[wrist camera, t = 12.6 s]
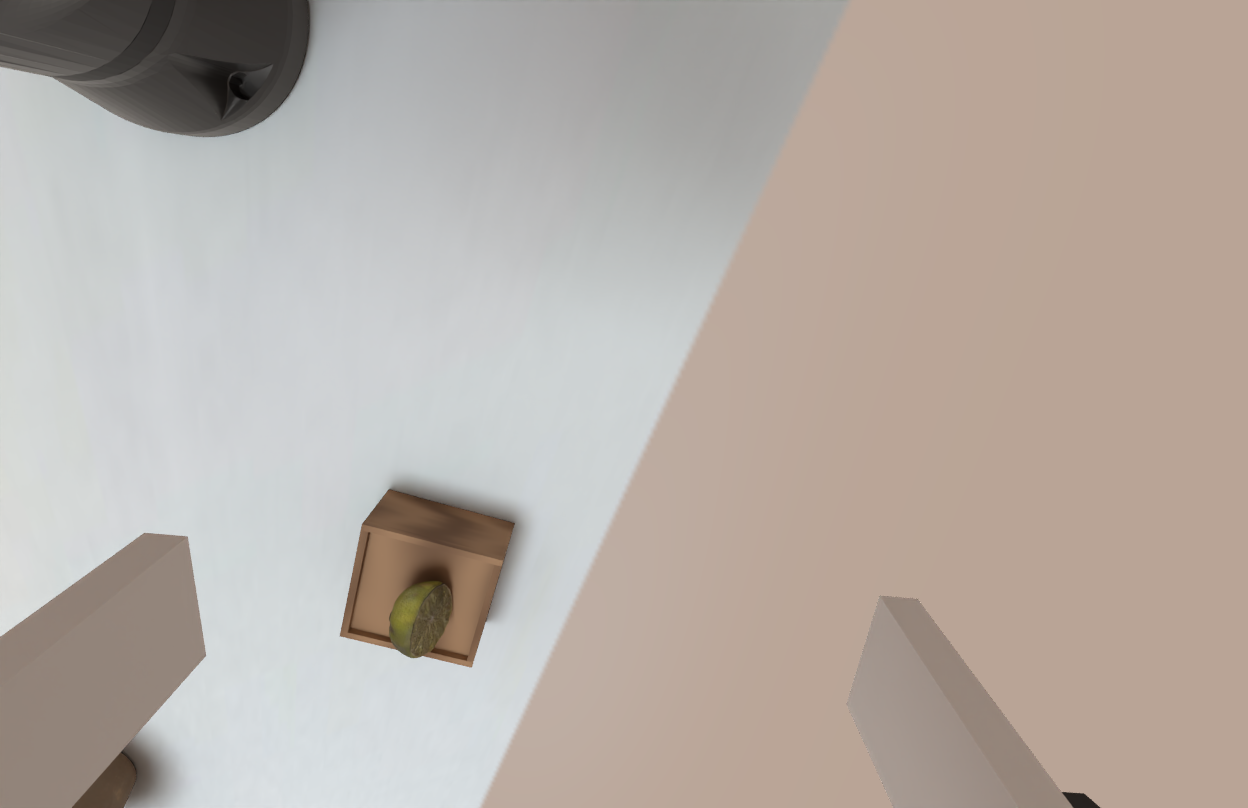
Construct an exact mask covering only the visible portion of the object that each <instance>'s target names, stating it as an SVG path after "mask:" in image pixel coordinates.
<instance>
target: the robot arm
mask: <svg viewBox="0 0 1248 808" xmlns="http://www.w3.org/2000/svg"><path fill="white" fill-rule="evenodd" d="M307 37H308V7H307V0H0V67H4V68H9V69H14V70H19V71H24V72H29V73H34V74H39V75H45V76H50V77H53V78H54V79H56V80H58V81H59V82H61V83H63V84H64V85H66V86H68V87H69V88H71V89H73V90H74V91H76V92H78V93H79V94H81V95H83V96H84V97H86V98H88V99H89V100H91V101H93V102H94V103H96V104H98V105H99V106H101V107H103V108H104V109H106V110H108V111H109V112H111V113H113V114H115V115H117V116H119V117H121V118H123V119H125V120H128V121H130V122H133V123H135V124H138V125H141V126H143V127H146V128H150V129H153V130H157V131H162V132H167V133H174V134H181V135H188V136H196V137H216V136H224V135H230V134H234V133H237V132H240V131H243V130H246V129H248V128H250V127H252V126H254V125H256V124H257V123H259V122H261V121H262V120H264V119H265V118H266V117H268V116H269V115H270V114H271V113H272V112H273V111H275V110H276V109H277V107H278V106H279V105H280V104H281V103H282V102H283V101H284V99H285V98H286V97H287V95H288V94H289V92H290V91H291V89H292V87H293V85H294V83H295V81H296V79H297V77H298V75H299V72H300V69H301V66H302V63H303V60H304V56H305V51H306V45H307ZM205 656H206V652H205V645H204V639H203V632H202V626H201V620H200V613H199V607H198V600H197V594H196V588H195V581H194V575H193V568H192V562H191V555H190V549H189V543H188V537H187V536H175V535H163V534H152V533H144V534H142V535H141V536H140V537H138V538H137V539H135V540H134V541H133V542H131V543H130V544H129V545H127V546H126V547H124V548H123V549H122V550H120V551H119V552H117V553H116V554H115V555H113V556H112V557H111V558H109V559H108V560H106V561H105V562H104V563H102V564H101V565H99V566H98V567H97V568H95V569H94V570H92V571H91V572H90V573H88V574H87V575H86V576H84V577H83V578H81V579H80V580H79V581H77V582H76V583H74V584H73V585H72V586H70V587H69V588H68V589H66V590H65V591H63V592H62V593H61V594H59V595H58V596H56V597H55V598H54V599H52V600H51V601H50V602H48V603H47V604H45V605H44V606H43V607H41V608H40V609H38V610H37V611H36V612H34V613H33V614H32V615H30V616H29V617H27V618H26V619H25V620H23V621H22V622H20V623H19V624H18V625H16V626H15V627H14V628H12V629H11V630H9V631H8V632H7V633H5V634H4V635H2V636H1V637H0V808H72V807H73V805H74V804H75V803H76V802H77V801H78V800H79V799H80V798H81V796H82V795H83V794H84V793H85V792H86V791H87V790H88V788H89V787H90V786H91V785H92V784H93V783H94V782H95V781H96V779H97V778H98V777H99V776H100V775H101V774H102V773H103V772H104V770H105V769H106V768H107V767H108V766H109V765H110V764H111V762H112V761H113V760H114V759H115V758H116V757H117V756H118V755H119V753H120V752H121V751H122V750H123V749H124V748H125V747H126V746H127V744H128V743H129V742H130V741H131V740H132V739H133V738H134V736H135V735H136V734H137V733H138V732H139V731H140V730H141V729H142V727H143V726H144V725H145V724H146V723H147V722H148V721H149V720H150V718H151V717H152V716H153V715H154V714H155V713H156V712H157V710H158V709H159V708H160V707H161V706H162V705H163V704H164V703H165V701H166V700H167V699H168V698H169V697H170V696H171V695H172V694H173V692H174V691H175V690H176V689H177V688H178V687H179V686H180V685H181V683H182V682H183V681H184V680H185V679H186V678H187V677H188V675H189V674H190V673H191V672H192V671H193V670H194V669H195V668H196V666H197V665H198V664H199V663H200V662H201V661H202V660H203V659H204V657H205ZM847 706H848V708H849V711H850V713H851V715H852V717H853V720H854V722H855V724H856V726H857V728H858V731H859V733H860V735H861V737H862V739H863V742H864V744H865V746H866V748H867V750H868V753H869V755H870V757H871V759H872V761H873V764H874V766H875V768H876V770H877V773H878V775H879V777H880V779H881V781H882V784H883V786H884V788H885V790H886V792H887V795H888V797H889V799H890V801H891V803H892V806H893V808H1100V807H1099V806H1098V805H1097V804H1095V803H1094V802H1093V801H1092V800H1091V799H1090V798H1089V797H1087V796H1086V795H1085V794H1081V793H1067V792H1061V791H1060V789H1059V788H1058V787H1057V785H1056V784H1055V783H1054V781H1053V780H1052V779H1051V777H1050V776H1049V775H1048V773H1047V772H1046V771H1045V769H1044V768H1043V767H1042V765H1041V764H1040V763H1039V761H1038V760H1037V759H1036V757H1035V756H1034V754H1033V753H1032V752H1031V751H1030V749H1029V748H1028V746H1027V745H1026V744H1025V742H1024V741H1023V740H1022V738H1021V737H1020V736H1019V734H1018V733H1017V732H1016V730H1015V729H1014V728H1013V726H1012V725H1011V724H1010V722H1009V721H1008V720H1007V718H1006V717H1005V716H1004V715H1003V713H1002V711H1001V710H1000V709H999V707H998V706H997V705H996V703H995V702H994V701H993V699H992V698H991V697H990V695H989V694H988V693H987V691H986V690H985V689H984V687H983V686H982V685H981V683H980V682H979V681H978V679H977V678H976V677H975V675H974V674H973V673H972V671H971V670H970V669H969V667H968V666H967V665H966V663H965V662H964V660H963V659H962V658H961V657H960V655H959V654H958V652H957V651H956V650H955V649H954V647H953V646H952V644H951V643H950V642H949V640H948V639H947V638H946V636H945V635H944V634H943V632H942V631H941V630H940V628H939V627H938V626H937V624H936V623H935V622H934V620H933V619H932V618H931V616H930V615H929V614H928V612H927V611H926V610H925V608H924V607H923V605H922V604H921V603H920V601H919V600H918V599H912V598H900V597H889V596H879V600H878V603H877V606H876V609H875V613H874V616H873V619H872V622H871V626H870V629H869V632H868V636H867V639H866V642H865V645H864V649H863V652H862V655H861V658H860V662H859V665H858V668H857V672H856V675H855V678H854V681H853V685H852V688H851V691H850V694H849V698H848V701H847Z"/></svg>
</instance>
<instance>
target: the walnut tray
mask: <svg viewBox="0 0 1248 808" xmlns="http://www.w3.org/2000/svg"><path fill="white" fill-rule="evenodd" d="M514 524H515V523H512V522H509V521H505V520H501V519H497V518H494V517H490V516H486V515H482V514H479V513H475V512H471V511H467V510H464V509H460V508H456V507H452V506H449V505H445V504H441V503H438V502H434V501H430V500H426V499H423V498H419V497H415V496H411V495H408V494H404V493H400V492H396V491H393V490H388V491H387V492H386V494H385V495H384V496H383V498H382V499H381V500H380V502H379V503H378V504H377V505H376V507H375V508H374V509H373V511H372V512H371V513H370V515H369V516H368V517H367V518H366V520H365V521H364V522H363V524H362V527H361V532H360V537H359V542H358V547H357V552H356V558H355V563H354V568H353V573H352V578H351V583H350V588H349V593H348V598H347V603H346V608H345V613H344V618H343V623H342V628H341V633H340V636H341V637H346V638H350V639H354V640H358V641H362V642H367V643H371V644H375V645H379V646H383V647H388V648H392V649H396V648H395V647H394V645H393V644H392V642H391V639H390V637H389V626H390V621H389V616H390V613H391V612H392V609H393V606H394V603H395V601H396V599H397V598H398V596H399V595H400V594H401V593H402V592H403V591H404V590H405V589H407V588H408V587H410V586H412V585H414V584H417V583H421V582H426V581H440V582H442V583H445V585H447V586H448V588H449V589H450V591H451V595H452V611H451V615H450V617H449V622H448V624H447V626H446V628H445V631H444V634H443V635H442V636H441V638H440V639H439V640H438V642H437V644H436V645H435V647H434V648H433V649H432V651H430V652H428V653H427V654H425V655H423V656H425V657H430V658H434V659H438V660H442V661H446V662H451V663H455V664H459V665H463V666H467V667H472V665H473V661H474V658H475V655H476V651H477V648H478V645H479V642H480V638H481V635H482V632H483V629H484V625H485V622H486V619H487V615H488V612H489V609H490V605H491V602H492V598H493V595H494V592H495V588H496V585H497V582H498V578H499V575H500V571H501V568H502V565H503V561H504V558H505V555H506V551H507V548H508V544H509V541H510V538H511V534H512V531H513V528H514ZM396 650H397V649H396Z"/></svg>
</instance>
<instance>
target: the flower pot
mask: <svg viewBox="0 0 1248 808" xmlns="http://www.w3.org/2000/svg"><path fill="white" fill-rule="evenodd" d="M135 780H136V771H135V768H134V765H133V764H132V762H131V761H130V760H129V759H128V758H127V757H126V756H125V755H124V754H122V753H121V752H120V753H119V755H118V756H117V757H116V758H115V759H114V760H113V761H112V762H111V764H110V765H109V766H108V767H107V768H106V769H105V770H104V772H103V773H102V774H101V775H100V776H99V777H98V778H97V779H96V781H95V782H94V783H93V784H92V785H91V786H90V787H89V788H88V790H87V791H86V792H85V793H84V794H83V795H82V796H81V798H80V799H79V800H78V801H77V802H76V803H75V804H74V805H73V807H72V808H124V806H125V803H126V801H127V799H128V797H129V795H130V792H131V790H132V788H133V786H134V783H135Z"/></svg>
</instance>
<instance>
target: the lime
mask: <svg viewBox="0 0 1248 808" xmlns="http://www.w3.org/2000/svg"><path fill="white" fill-rule="evenodd" d="M451 611H452V595H451V591H450V589H449V588H448V586H447V585H445V583H442V582H440V581H426V582H421V583H417V584H414V585H412V586H410V587H408V588H407V589H405V590H404V591H403V592H402V593H401V594H400V595H399V596H398V598H397V599H396V601H395V603H394V606H393V609H392V612H391V613H390V616H389V621H390V626H389V637H390V639H391V642H392V644H393V645H394V647H395V648H396V649H397V650H398V651H400V652H401V653H402V654H404V655H406V656H408V657H410V658H418V657H421V656H423V655H425V654H427V653H428V652H430V651H432V649H433V648H434V647H435V645H436V644H437V642H438V640H439V639H440V638H441V636H442V635H443V634H444V631H445V628H446V626H447V624H448V622H449V617H450V615H451Z"/></svg>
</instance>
